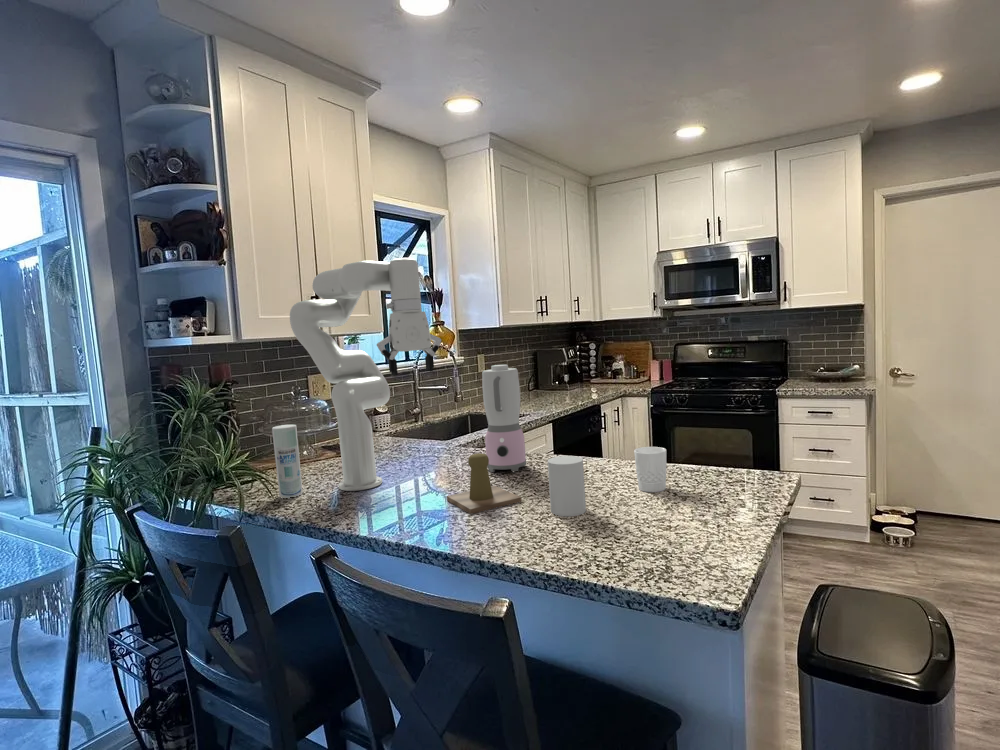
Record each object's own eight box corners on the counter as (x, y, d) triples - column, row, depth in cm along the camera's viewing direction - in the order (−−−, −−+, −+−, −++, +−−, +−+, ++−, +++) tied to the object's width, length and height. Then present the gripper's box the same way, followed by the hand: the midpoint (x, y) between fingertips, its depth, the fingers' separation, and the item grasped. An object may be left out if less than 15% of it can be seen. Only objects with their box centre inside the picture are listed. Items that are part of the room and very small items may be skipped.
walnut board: (447, 500, 148) (446, 496, 148) (494, 489, 155) (494, 485, 155) (470, 514, 136) (470, 509, 136) (521, 501, 143) (521, 497, 143)
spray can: (302, 490, 169) (295, 423, 167) (304, 496, 163) (297, 426, 161) (278, 494, 166) (271, 426, 164) (279, 500, 160) (272, 429, 158)
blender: (491, 464, 185) (483, 365, 182) (528, 462, 183) (521, 362, 180) (481, 477, 169) (473, 369, 167) (522, 476, 167) (514, 366, 165)
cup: (588, 505, 136) (585, 455, 135) (582, 517, 128) (579, 464, 127) (555, 504, 139) (552, 455, 138) (547, 515, 131) (543, 464, 130)
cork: (494, 492, 148) (491, 450, 147) (491, 500, 142) (488, 456, 141) (471, 493, 149) (468, 452, 148) (467, 501, 143) (464, 457, 142)
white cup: (633, 492, 144) (631, 453, 143) (638, 483, 151) (636, 446, 150) (666, 493, 141) (664, 453, 140) (669, 484, 148) (667, 446, 147)
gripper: (378, 307, 141) (384, 377, 142) (443, 304, 149) (448, 370, 151) (369, 309, 148) (375, 375, 149) (432, 306, 156) (437, 369, 157)
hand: (412, 373), depth 150 cm, fingers open, 9 cm apart
